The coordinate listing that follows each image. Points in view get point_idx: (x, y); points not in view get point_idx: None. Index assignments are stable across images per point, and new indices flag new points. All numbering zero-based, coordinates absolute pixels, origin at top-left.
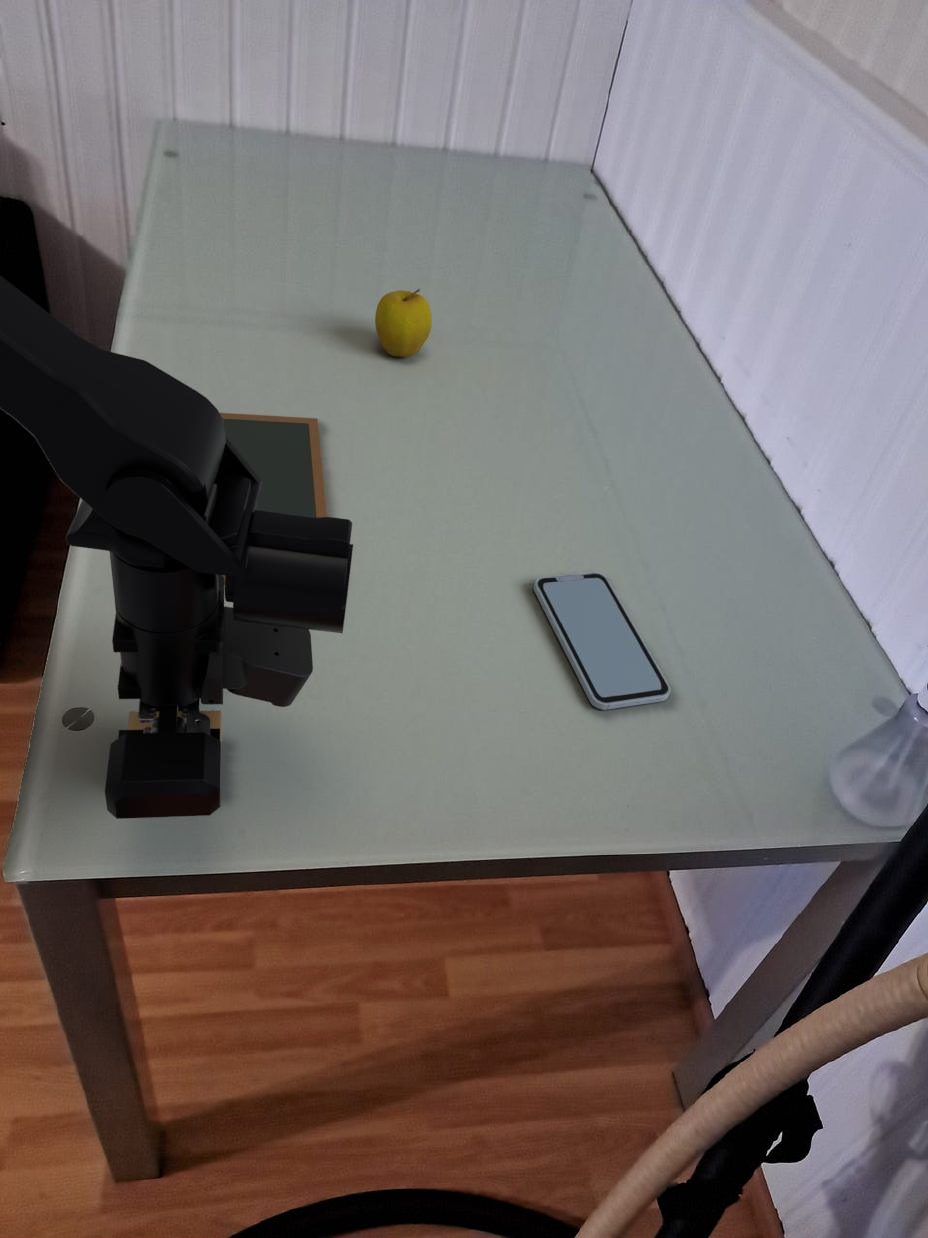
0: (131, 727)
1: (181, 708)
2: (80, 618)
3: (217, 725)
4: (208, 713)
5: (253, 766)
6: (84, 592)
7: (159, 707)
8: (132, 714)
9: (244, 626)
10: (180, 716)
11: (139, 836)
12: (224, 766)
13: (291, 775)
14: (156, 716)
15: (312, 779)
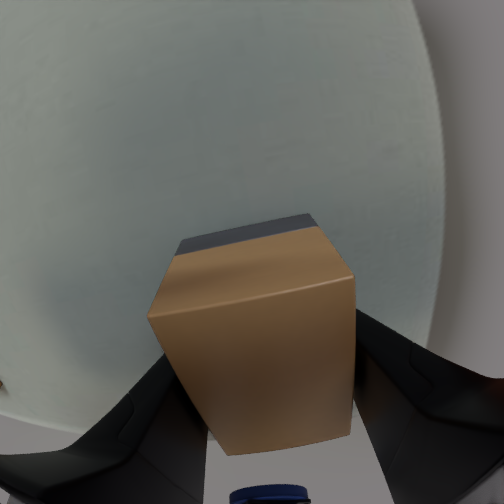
0: (267, 448)
1: (182, 400)
2: (68, 425)
3: (214, 316)
4: (172, 347)
5: (218, 154)
6: (42, 420)
7: (200, 432)
8: (233, 453)
9: None
10: (210, 399)
11: (393, 316)
12: (231, 218)
13: (228, 63)
14: (227, 431)
15: (231, 20)
